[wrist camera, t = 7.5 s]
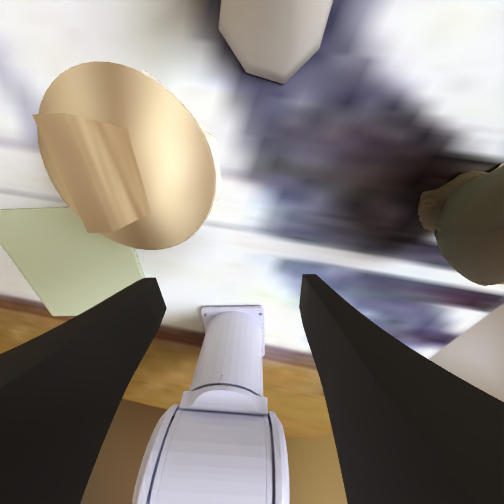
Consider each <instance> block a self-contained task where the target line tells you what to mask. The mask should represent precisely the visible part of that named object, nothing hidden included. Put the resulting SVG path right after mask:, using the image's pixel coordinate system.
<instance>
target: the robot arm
mask: <svg viewBox="0 0 504 504" xmlns="http://www.w3.org/2000/svg"><path fill="white" fill-rule="evenodd" d="M299 308H300V313H301V318H302V323H303V327H304V330H305V333H306V337H307V340H308V343H309V346H310V349H311V352H312V355H313V358H314V361H315V364H316V367H317V370H318V373H319V377H320V380H321V384H322V387H323V391H324V395H325V400H326V404H327V408H328V412H329V417H330V421H331V426H332V430H333V435H334V439H335V444H336V448H337V453H338V458H339V463H340V468H341V473H342V477H343V482H344V487H345V492H346V497H347V502H348V504H504V402H502V401H500V400H498V399H497V398H495V397H493V396H491V395H489V394H487V393H485V392H484V391H482V390H480V389H478V388H476V387H474V386H473V385H471V384H469V383H468V382H466V381H464V380H462V379H461V378H459V377H457V376H455V375H454V374H452V373H450V372H448V371H447V370H445V369H443V368H442V367H440V366H438V365H437V364H435V363H433V362H432V361H430V360H429V359H427V358H425V357H424V356H422V355H420V354H419V353H417V352H416V351H414V350H412V349H411V348H409V347H408V346H406V345H405V344H403V343H402V342H400V341H399V340H397V339H396V338H394V337H393V336H391V335H390V334H388V333H387V332H386V331H384V330H383V329H381V328H380V327H379V326H377V325H376V324H374V323H373V322H372V321H370V320H369V319H368V318H367V317H365V316H364V315H363V314H361V313H360V312H359V311H357V310H356V309H355V308H354V307H353V306H351V305H350V304H349V303H348V302H347V301H345V300H344V299H343V298H342V297H341V296H340V295H338V294H337V293H336V292H335V291H334V290H333V289H332V288H331V287H329V286H328V285H327V284H326V283H325V282H324V281H323V280H322V279H321V278H319V277H318V276H317V275H316V274H303V277H302V286H301V295H300V304H299ZM165 311H166V305H165V302H164V300H163V297H162V294H161V291H160V288H159V286H158V283H157V280H156V278H142V279H140V280H138V281H136V282H135V283H133V284H131V285H129V286H127V287H126V288H124V289H122V290H121V291H119V292H117V293H116V294H114V295H112V296H110V297H109V298H107V299H105V300H104V301H102V302H100V303H99V304H97V305H95V306H94V307H92V308H90V309H88V310H86V311H85V312H83V313H81V314H79V315H78V316H76V317H74V318H72V319H70V320H69V321H67V322H65V323H63V324H61V325H59V326H58V327H56V328H54V329H52V330H50V331H48V332H46V333H44V334H42V335H40V336H38V337H36V338H34V339H32V340H30V341H28V342H26V343H24V344H22V345H20V346H18V347H15V348H13V349H11V350H9V351H7V352H4V353H2V354H0V504H80V502H81V500H82V497H83V494H84V491H85V488H86V485H87V483H88V480H89V477H90V475H91V472H92V469H93V467H94V465H95V462H96V459H97V457H98V454H99V451H100V449H101V446H102V444H103V441H104V439H105V437H106V434H107V431H108V429H109V427H110V424H111V422H112V420H113V417H114V415H115V412H116V410H117V408H118V406H119V404H120V401H121V399H122V397H123V395H124V392H125V390H126V388H127V386H128V384H129V382H130V380H131V378H132V376H133V374H134V372H135V371H136V369H137V367H138V365H139V363H140V362H141V360H142V358H143V356H144V354H145V353H146V351H147V349H148V347H149V345H150V344H151V342H152V340H153V338H154V336H155V334H156V333H157V331H158V329H159V327H160V324H161V322H162V319H163V317H164V314H165ZM204 313H205V314H204ZM201 315H202V319H203V324H204V328H205V333H206V334H205V338H204V341H203V345H202V348H201V351H200V355H199V358H198V362H197V365H196V369H195V372H194V376H193V379H192V382H191V386H190V389H189V391H184V392H183V395H182V399H181V402H180V405H179V404H174V405H172V406H171V407H170V408H169V409H168V410H167V411H166V412H165V413H164V414H163V415H162V417H161V418H160V420H159V421H158V423H157V425H156V427H155V429H154V431H153V433H152V436H151V438H150V441H149V443H148V446H147V449H146V451H145V455H144V457H143V460H142V463H141V467H140V470H139V474H138V478H137V482H136V486H135V490H134V495H133V501H132V504H289V469H288V457H287V449H286V441H285V435H284V430H283V427H282V424H281V422H280V420H279V419H278V418H277V416H276V414H275V413H274V412H273V411H268V407H267V398H266V397H263V372H262V356H264V354H265V352H264V308H263V307H262V306H241V307H203V308H202V309H201Z"/></svg>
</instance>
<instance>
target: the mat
mask: <svg viewBox="0 0 504 504" xmlns="http://www.w3.org/2000/svg"><path fill="white" fill-rule="evenodd" d="M0 244H1V245H2V247H3V248H4V250H5V251H6V252H7V254H8V255H9V256H10V258H11V259H12V261H13V262H14V263H15V265H16V266H17V267H18V269H19V270H20V272H21V273H22V274H23V276H24V277H25V278H26V280H27V281H28V283H29V284H30V285H31V287H32V288H33V290H34V291H35V292H36V294H37V295H38V296H39V298H40V299H41V301H42V302H43V303H44V305H45V306H46V307H47V309H48V310H49V312H50V313H51V314H52V316H78V315H79V314H81V313H83V312H85V311H86V310H88V309H90V308H92V307H94V306H95V305H97V304H99V303H100V302H102V301H104V300H105V299H107V298H109V297H110V296H112V295H114V294H116V293H117V292H119V291H121V290H122V289H124V288H126V287H127V286H129V285H131V284H133V283H135V282H136V281H138V280H140V279H142V278H145V277H144V274H143V271H142V268H141V266H140V263H139V260H138V257H137V255H136V252H135V249H134V248H133V247H129V246H125V245H122V244H120V243H117V242H115V241H113V240H111V239H108V238H107V237H105V236H103V235H101V234H100V233H88V232H87V230H86V228H85V226H84V223H83V221H82V220H81V219H80V218H79V217H78V216H77V215H76V214H75V213H74V212H73V211H72V210H71V208H70V207H56V208H29V209H1V210H0Z"/></svg>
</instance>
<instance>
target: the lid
mask: <svg viewBox="0 0 504 504" xmlns="http://www.w3.org/2000/svg"><path fill="white" fill-rule="evenodd" d="M33 117H34V119H35V121H36V124H37V131H38V142H39V147H40V152H41V156H42V159H43V162H44V165H45V168H46V170H47V172H48V175H49V177H50V179H51V181H52V183H53V184H54V186H55V188H56V190H57V191H58V193H59V194H60V196H61V197H62V199H63V200H64V201H65V202H66V204H67V205H68V206H69V207H70V208H71V210H72V211H73V212H74V213H75V214H76V215H77V216H78V217H79V218H80V219H81V220H82V221H83V223H84V226H85V228H86V230H87V232H88V233H100V234H101V235H103V236H105V237H107V238H108V239H111V240H113V241H115V242H117V243H120V244H122V245H125V246H129V247H133V248H137V249H144V250H158V249H165V248H170V247H173V246H175V245H178V244H180V243H182V242H184V241H186V240H187V239H188V238H190V237H191V236H192V235H193V234H194V233H195V232H196V231H197V230H198V229H199V228H200V227H201V225H202V224H203V223H204V221H205V220H206V219H207V217H208V215H209V213H210V211H211V208H212V205H213V202H214V198H215V192H216V171H215V165H214V159H213V156H212V153H211V149H210V146H209V144H208V142H207V139H206V137H205V135H204V133H203V131H202V129H201V128H200V126H199V124H198V123H197V121H196V120H195V118H194V117H193V115H192V114H191V113H190V112H189V110H188V109H187V108H186V107H185V106H184V105H183V104H182V102H181V101H179V100H178V99H177V98H176V97H175V96H174V95H173V94H172V93H171V92H169V91H168V90H167V89H166V88H164V87H163V86H162V85H160V84H159V83H157V82H156V81H155V80H153V79H152V78H150V77H149V76H147V75H145V74H143V73H141V72H139V71H137V70H135V69H132V68H129V67H127V66H124V65H120V64H115V63H110V62H89V63H83V64H80V65H77V66H74V67H72V68H69V69H68V70H66V71H65V72H63V73H62V74H60V75H59V76H58V77H57V78H56V79H55V80H54V81H53V82H52V83H51V85H50V86H49V88H48V89H47V91H46V92H45V95H44V97H43V100H42V102H41V105H40V109H39V114H36V115H33Z"/></svg>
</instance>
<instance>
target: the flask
mask: <svg viewBox="0 0 504 504" xmlns="http://www.w3.org/2000/svg"><path fill="white" fill-rule="evenodd" d="M332 3H333V0H221V7H220V17H219V26H218V29H219V31H220V32H221V34H222V35H223V37H224V38H225V40H226V42H227V43H228V45H229V46H230V48H231V49H232V51H233V52H234V54H235V56H236V57H237V59H238V60H239V62H240V63H241V65H242V67H243V68H244V70H245V71H246V73H249V74H252V75H256V76H259V77H262V78H265V79H269V80H272V81H275V82H279V83H282V84H286V83H287V81H288V80H289V79H290V78H291V77H292V76H293V75H294V74H295V73H296V72H297V71H298V70H299V69H300V68H301V67H302V66H303V65H304V64H305V63H306V62H307V61H308V60H309V59H310V58H311V57H312V56H313V55H314V54H315V53H316V52H317V51H318V50H319V48H320V44H321V41H322V37H323V34H324V30H325V27H326V23H327V20H328V17H329V13H330V10H331V6H332Z"/></svg>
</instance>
